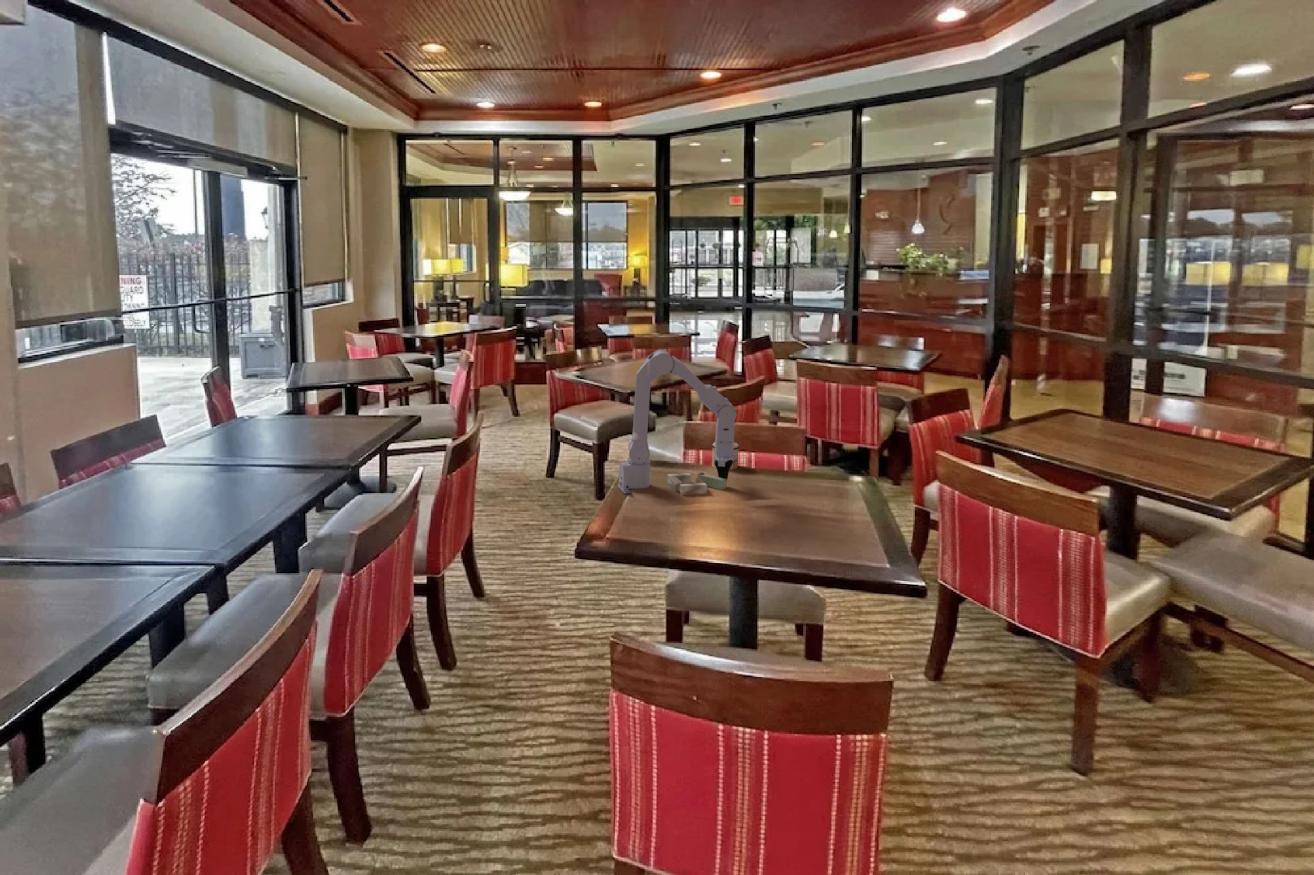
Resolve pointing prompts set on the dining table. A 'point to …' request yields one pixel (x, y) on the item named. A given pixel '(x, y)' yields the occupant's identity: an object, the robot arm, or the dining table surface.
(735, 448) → the teacup with lid
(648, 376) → the robot arm
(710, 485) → the green rectangular block
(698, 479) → the cream shallow tray
